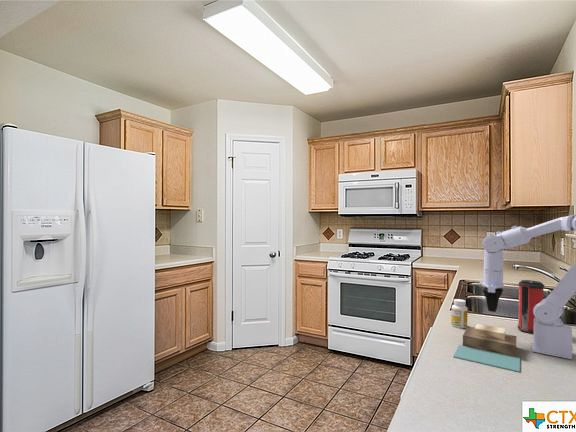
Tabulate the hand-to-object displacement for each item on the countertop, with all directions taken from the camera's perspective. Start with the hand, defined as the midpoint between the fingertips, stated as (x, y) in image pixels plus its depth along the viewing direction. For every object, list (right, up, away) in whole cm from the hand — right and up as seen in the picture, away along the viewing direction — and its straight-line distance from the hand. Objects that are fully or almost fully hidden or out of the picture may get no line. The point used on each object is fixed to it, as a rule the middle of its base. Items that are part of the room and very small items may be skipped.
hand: (492, 310), depth 117 cm
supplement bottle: (-5, -10, +12) cm, 16 cm away
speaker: (+18, -10, +8) cm, 22 cm away
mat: (-12, -9, -17) cm, 23 cm away
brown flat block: (-6, -9, -8) cm, 14 cm away
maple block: (-5, -6, -7) cm, 11 cm away
